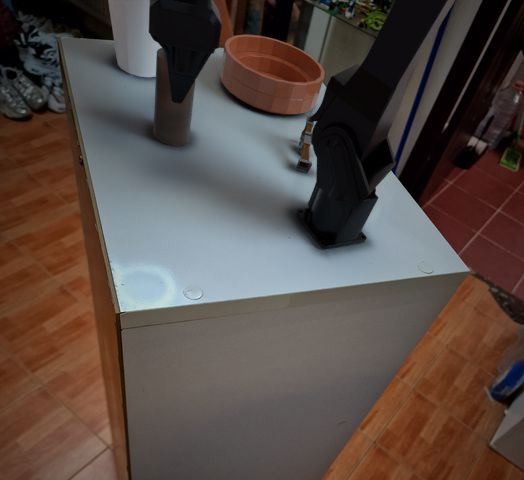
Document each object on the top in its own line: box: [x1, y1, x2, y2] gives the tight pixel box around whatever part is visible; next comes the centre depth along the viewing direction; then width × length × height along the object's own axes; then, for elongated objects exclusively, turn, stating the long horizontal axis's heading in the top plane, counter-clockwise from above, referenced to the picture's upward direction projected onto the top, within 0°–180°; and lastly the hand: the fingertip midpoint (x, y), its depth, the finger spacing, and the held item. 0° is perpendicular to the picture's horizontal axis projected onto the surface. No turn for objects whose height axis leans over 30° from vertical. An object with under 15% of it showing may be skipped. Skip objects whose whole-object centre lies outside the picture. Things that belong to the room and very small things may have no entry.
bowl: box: [219, 34, 326, 115], centre depth 66 cm, size 15×15×5 cm
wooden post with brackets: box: [295, 112, 315, 173], centre depth 58 cm, size 2×8×4 cm, turn 177°
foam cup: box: [107, 0, 162, 78], centre depth 58 cm, size 10×9×13 cm
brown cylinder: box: [152, 48, 197, 147], centre depth 51 cm, size 4×4×9 cm
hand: (176, 82), depth 49 cm, fingers open, 9 cm apart
